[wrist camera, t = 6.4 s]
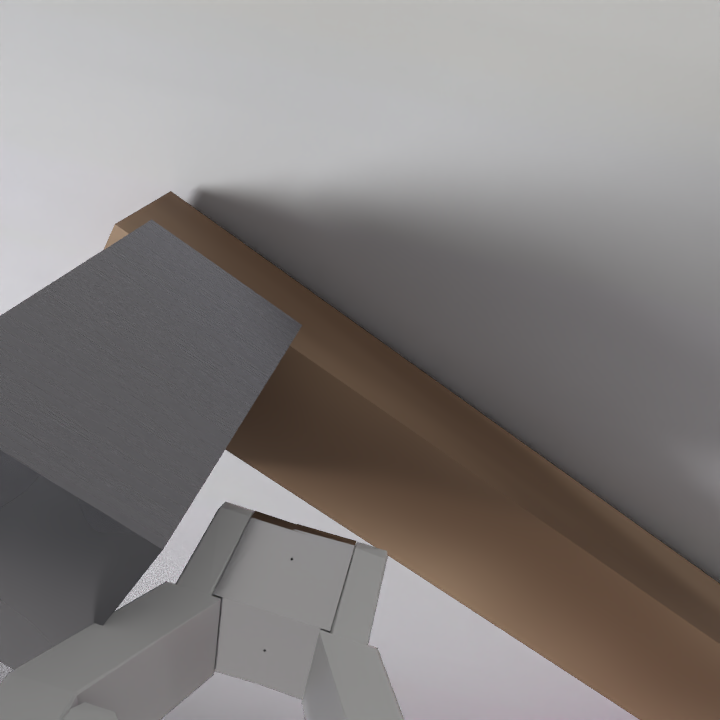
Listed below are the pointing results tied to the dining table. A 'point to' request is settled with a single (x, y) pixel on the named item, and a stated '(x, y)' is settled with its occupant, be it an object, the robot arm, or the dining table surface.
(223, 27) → the dining table surface
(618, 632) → the l-shaped wooden bracket
